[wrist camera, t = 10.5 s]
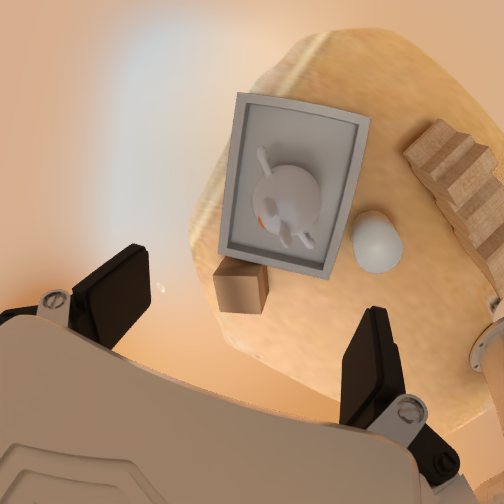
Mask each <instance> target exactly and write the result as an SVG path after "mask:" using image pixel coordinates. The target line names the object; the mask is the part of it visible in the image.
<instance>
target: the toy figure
mask: <svg viewBox="0 0 504 504" xmlns="http://www.w3.org/2000/svg"><path fill="white" fill-rule="evenodd" d="M257 157H258V160H259V161H260V163H261V166H262V168H263V171H264V174H263V175H262V176H261V177H260V179H259V180H258V182H257V184H256V186H255V188H254V192H253V196H252V199H251V207H252V211H253V214H254V216H255V218H256V220H257V221H258V222H259V223H260V225H261V226H262V227H263V228H264V229H266V230H267V231H269V232H270V233H272V234H275V235H279V238H280V241H281V243H282V244H283V246H284V247H285V248H288V247H290V246H291V244H292V240H291V235H298V236H299V238H300V239H301V241H302V242H303V243H304V245H305V246H306V247H307V248H308V249H313V248H314V247H315V241H314V239H313V238H311V237H310V234H309V233H308V232H306V233H304V232H303V231H304V230H306V229H307V228H308V227H309V226H310V225H312V223H313V222H314V221H315V220H316V218H317V216H318V214H319V212H320V209H321V204H322V195H321V190H320V187H319V185H318V183H317V181H316V180H315V178H314V177H313V176H312V175H311V174H310V173H309V172H307V171H306V170H304V169H302V168H300V167H297V166H293V165H281V166H277V167H274V168H272V169H270V167H269V165H268V163H269V162H270V158H269V156H268V154H267V150H266V148H265V147H263V146H260V147H258V149H257Z"/></svg>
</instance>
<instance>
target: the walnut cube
mask: <svg viewBox="0 0 504 504" xmlns="http://www.w3.org/2000/svg"><path fill="white" fill-rule="evenodd" d="M213 280H214V285H215V290H216V295H217V300H218V305H219V309H220V312H229V313H245V314H262V311H263V308H264V305H265V302H266V299H267V296H268V292H269V285H268V274H267V266H266V265H262V264H258V263H254V262H250V261H246V260H241V259H237V258H233V257H229V256H226V257H225V258H224V259H223V261H222V262H221V264H220V265H219V267H218V268H217V270H216V271H215V273H214V274H213Z"/></svg>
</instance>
